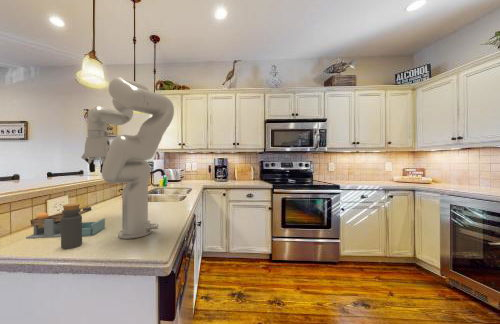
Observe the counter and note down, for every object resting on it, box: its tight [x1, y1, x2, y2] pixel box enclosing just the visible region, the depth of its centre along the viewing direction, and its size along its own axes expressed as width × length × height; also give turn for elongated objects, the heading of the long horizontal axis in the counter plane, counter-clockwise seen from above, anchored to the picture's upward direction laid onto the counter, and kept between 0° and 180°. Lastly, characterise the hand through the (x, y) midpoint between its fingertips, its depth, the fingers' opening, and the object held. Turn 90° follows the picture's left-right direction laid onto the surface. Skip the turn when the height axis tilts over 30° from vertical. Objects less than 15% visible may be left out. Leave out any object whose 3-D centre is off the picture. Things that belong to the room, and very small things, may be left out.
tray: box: [82, 217, 106, 237], centre depth 91 cm, size 9×10×4 cm
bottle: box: [60, 202, 83, 250], centre depth 77 cm, size 6×6×15 cm
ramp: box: [29, 206, 93, 228], centre depth 94 cm, size 15×16×4 cm
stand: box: [25, 219, 61, 239], centre depth 89 cm, size 14×9×7 cm, turn 99°
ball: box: [36, 211, 49, 220], centre depth 88 cm, size 4×4×4 cm
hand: (97, 171), depth 104 cm, fingers open, 4 cm apart
